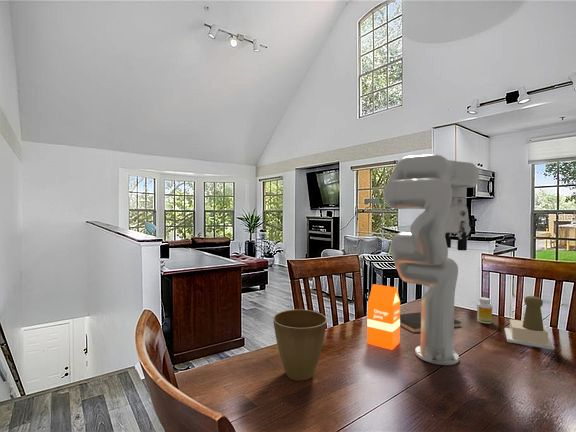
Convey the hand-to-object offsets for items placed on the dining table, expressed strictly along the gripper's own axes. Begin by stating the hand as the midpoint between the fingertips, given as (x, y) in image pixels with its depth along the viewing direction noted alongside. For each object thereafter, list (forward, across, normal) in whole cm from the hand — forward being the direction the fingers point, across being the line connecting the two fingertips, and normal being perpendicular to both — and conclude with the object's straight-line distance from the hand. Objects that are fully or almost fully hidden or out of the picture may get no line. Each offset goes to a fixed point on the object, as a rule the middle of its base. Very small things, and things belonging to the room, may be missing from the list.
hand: (454, 248), depth 123 cm
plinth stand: (+32, -7, -24) cm, 40 cm away
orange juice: (+32, -7, +29) cm, 44 cm away
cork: (+27, -10, -24) cm, 37 cm away
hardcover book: (+32, +12, +4) cm, 35 cm away
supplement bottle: (+32, +12, -21) cm, 40 cm away
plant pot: (+33, -26, +61) cm, 74 cm away
